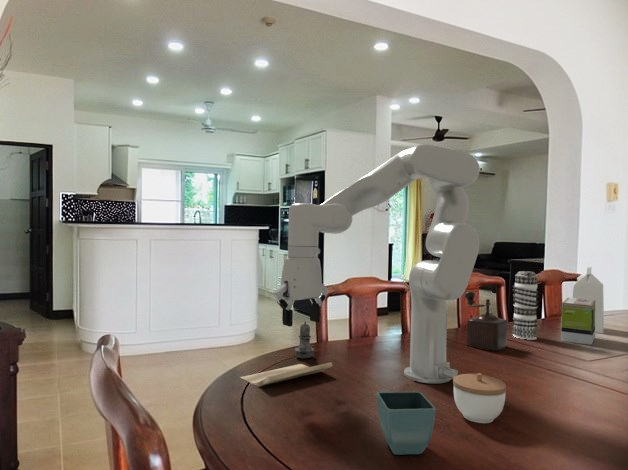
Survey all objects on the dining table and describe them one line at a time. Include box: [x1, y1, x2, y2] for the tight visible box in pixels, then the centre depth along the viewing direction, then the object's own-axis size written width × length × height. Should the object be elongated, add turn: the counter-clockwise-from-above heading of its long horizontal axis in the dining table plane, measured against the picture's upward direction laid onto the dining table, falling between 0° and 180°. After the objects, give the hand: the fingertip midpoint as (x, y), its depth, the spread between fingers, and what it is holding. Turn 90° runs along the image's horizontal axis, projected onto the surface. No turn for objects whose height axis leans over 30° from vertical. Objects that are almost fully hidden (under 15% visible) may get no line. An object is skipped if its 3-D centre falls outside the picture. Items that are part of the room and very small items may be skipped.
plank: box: [253, 361, 334, 388], centre depth 116 cm, size 7×20×1 cm
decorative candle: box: [511, 270, 540, 341], centre depth 175 cm, size 9×9×25 cm
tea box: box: [560, 297, 596, 346], centre depth 173 cm, size 15×10×15 cm
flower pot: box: [376, 391, 437, 456], centre depth 84 cm, size 9×9×9 cm
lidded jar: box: [452, 372, 507, 424], centre depth 98 cm, size 11×11×9 cm
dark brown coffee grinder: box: [463, 291, 508, 352], centre depth 162 cm, size 16×11×18 cm
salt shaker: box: [294, 320, 315, 360], centre depth 137 cm, size 6×6×12 cm
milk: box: [572, 266, 605, 334], centre depth 193 cm, size 12×12×26 cm
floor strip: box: [239, 363, 309, 385], centre depth 121 cm, size 6×20×1 cm, turn 130°
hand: (301, 323), depth 114 cm, fingers open, 8 cm apart
